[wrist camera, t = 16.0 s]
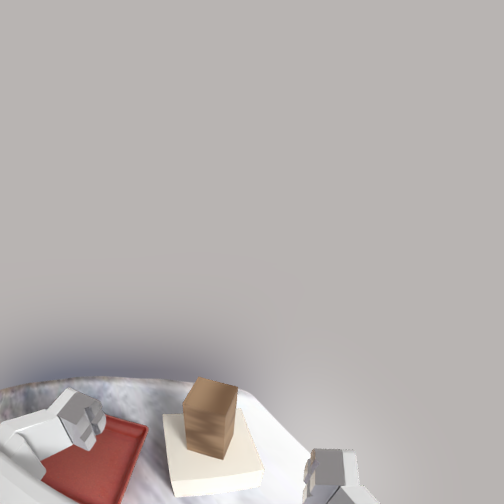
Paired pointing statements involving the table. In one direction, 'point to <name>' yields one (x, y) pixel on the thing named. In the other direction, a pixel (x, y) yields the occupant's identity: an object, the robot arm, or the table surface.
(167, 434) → the plinth
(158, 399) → the table surface
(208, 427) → the walnut block
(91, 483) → the plant saucer
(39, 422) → the robot arm
